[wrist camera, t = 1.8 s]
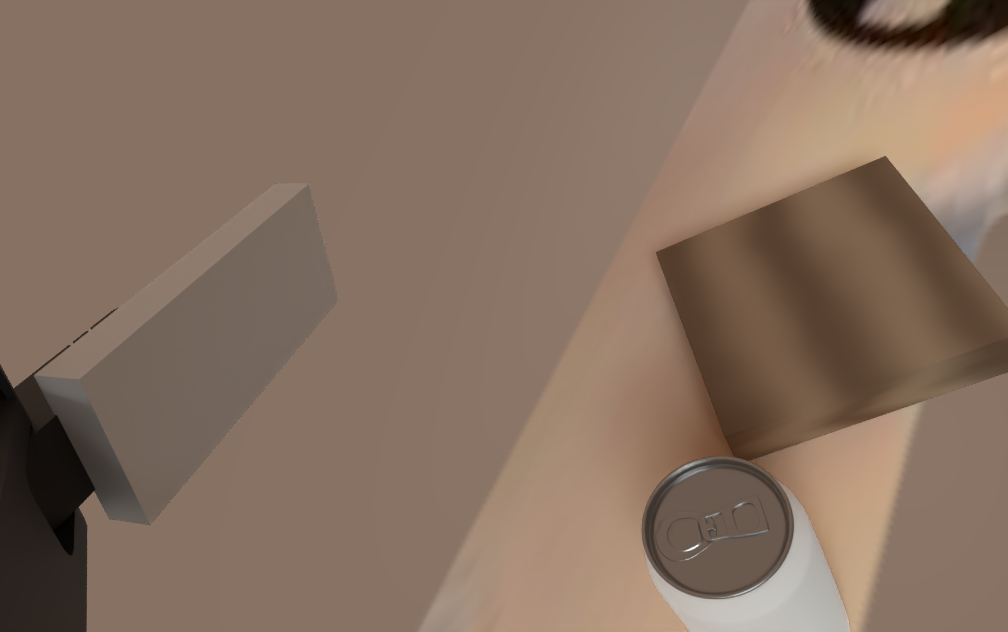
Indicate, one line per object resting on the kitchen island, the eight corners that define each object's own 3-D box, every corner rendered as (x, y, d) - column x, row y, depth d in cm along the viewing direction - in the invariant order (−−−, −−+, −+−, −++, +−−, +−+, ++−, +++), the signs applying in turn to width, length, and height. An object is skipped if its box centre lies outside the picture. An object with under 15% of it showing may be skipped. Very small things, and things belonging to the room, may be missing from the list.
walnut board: (890, 190, 50) (885, 155, 48) (1025, 366, 39) (1026, 331, 37) (668, 281, 54) (655, 252, 52) (738, 464, 43) (725, 436, 41)
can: (696, 582, 40) (617, 473, 32) (823, 549, 38) (774, 424, 30) (729, 717, 36) (648, 630, 28) (875, 687, 34) (834, 585, 26)
